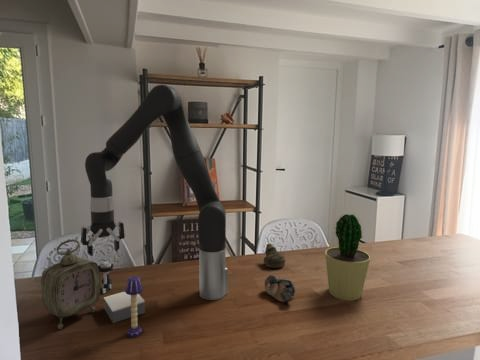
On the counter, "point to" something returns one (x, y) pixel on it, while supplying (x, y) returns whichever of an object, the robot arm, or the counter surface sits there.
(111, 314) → the plinth
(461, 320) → the counter surface
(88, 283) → the tabletop clock
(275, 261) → the seashell
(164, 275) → the counter surface
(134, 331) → the toy lamp
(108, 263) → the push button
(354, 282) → the potted cactus
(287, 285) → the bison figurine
